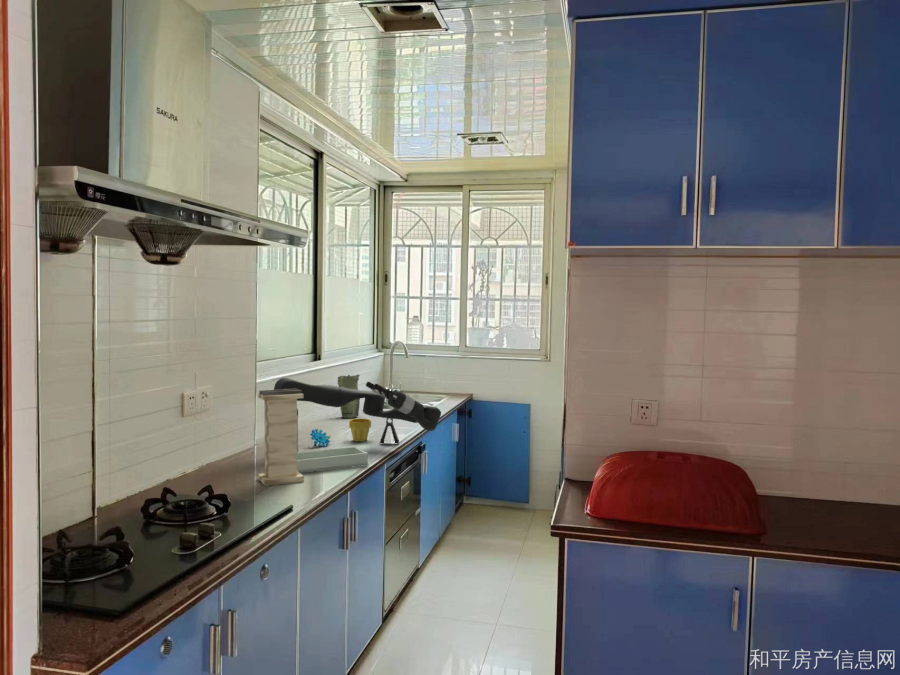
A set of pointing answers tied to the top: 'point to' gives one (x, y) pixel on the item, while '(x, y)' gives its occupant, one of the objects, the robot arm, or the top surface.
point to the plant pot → (360, 428)
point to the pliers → (392, 432)
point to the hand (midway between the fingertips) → (370, 384)
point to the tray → (330, 459)
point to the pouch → (352, 407)
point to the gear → (320, 437)
